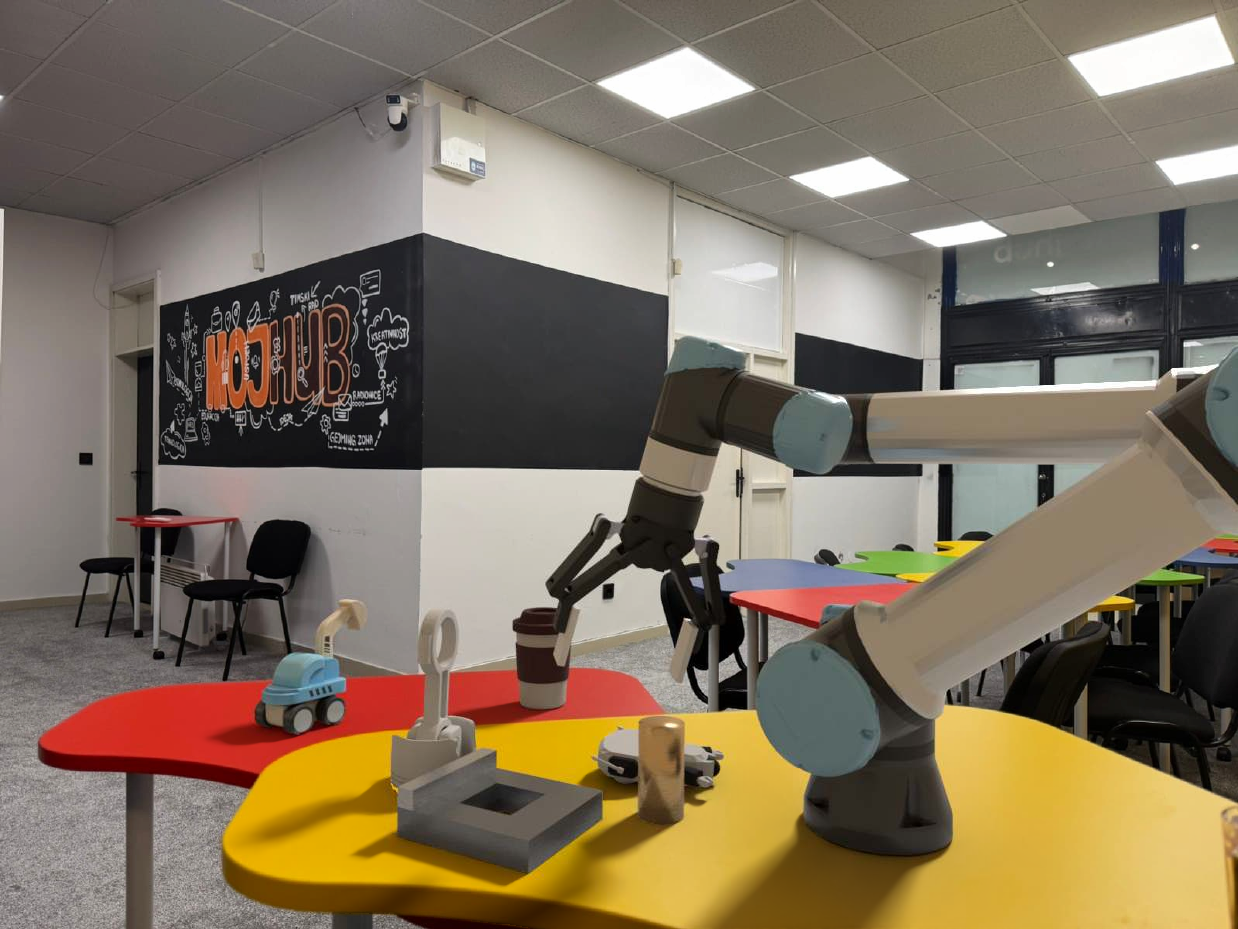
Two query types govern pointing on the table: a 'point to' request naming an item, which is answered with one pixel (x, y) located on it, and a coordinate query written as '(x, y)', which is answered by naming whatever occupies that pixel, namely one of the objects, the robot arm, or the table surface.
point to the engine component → (433, 707)
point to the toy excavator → (310, 679)
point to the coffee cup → (539, 660)
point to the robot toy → (622, 759)
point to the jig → (466, 822)
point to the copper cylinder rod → (661, 770)
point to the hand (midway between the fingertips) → (618, 669)
